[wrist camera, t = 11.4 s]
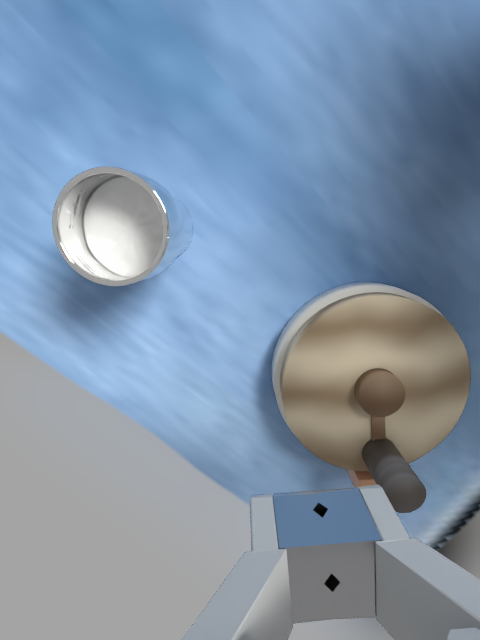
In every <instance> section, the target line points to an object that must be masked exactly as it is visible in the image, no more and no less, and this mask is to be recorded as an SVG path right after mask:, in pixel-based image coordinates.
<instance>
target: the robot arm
mask: <svg viewBox="0 0 480 640" xmlns="http://www.w3.org/2000/svg"><path fill="white" fill-rule="evenodd" d="M250 519H251V549H252V551H251V552H245V553H244V554H243V555H242V557H241V558H240V560H239V561H238V562H237V564H236V565H235V567H234V568H233V569H232V571H231V572H230V574H229V575H228V576H227V578H226V579H225V580H224V582H223V583H222V585H221V586H220V588H219V589H218V590H217V592H216V593H215V594H214V596H213V597H212V599H211V600H210V601H209V603H208V604H207V606H206V607H205V608H204V610H203V611H202V612H201V614H200V615H199V617H198V618H197V619H196V621H195V622H194V624H193V625H192V626H191V628H190V629H189V631H188V632H187V633H186V635H185V636H184V638H183V639H182V640H288V638H289V635H290V633H291V630H292V628H293V623H302V622H311V621H320V620H330V619H349V618H372V617H377V621H378V622H379V623H380V624H381V625H382V626H383V627H384V628H385V629H386V631H387V632H388V633H389V634H390V635H391V636H392V637H393V638H394V639H395V640H480V579H478V578H477V577H475V576H474V575H472V574H471V573H469V572H467V571H466V570H464V569H463V568H461V567H460V566H458V565H457V564H455V563H454V562H452V561H451V560H449V559H448V558H446V557H445V556H443V555H442V554H440V553H438V552H437V551H435V550H434V549H432V548H431V547H429V546H428V545H426V544H425V543H423V542H422V541H420V540H419V539H410V538H409V536H408V534H407V532H406V530H405V529H404V527H403V525H402V523H401V521H400V519H399V518H398V516H397V514H396V512H395V510H394V508H393V507H392V505H391V503H390V501H389V499H388V497H387V496H386V494H385V492H384V490H383V488H382V487H381V486H380V485H370V486H361V487H357V488H347V489H336V490H324V491H308V492H291V493H274V494H273V497H272V494H262V495H251V497H250Z"/></svg>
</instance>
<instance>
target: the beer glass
mask: <svg viewBox="0 0 480 640" xmlns="http://www.w3.org/2000/svg"><path fill="white" fill-rule="evenodd" d="M52 226H53V234H54V238H55V241H56V244H57V247H58V249H59V251H60V253H61V255H62V256H63V258H64V259H65V260H66V262H67V263H68V264H69V265H70V266H71V267H72V268H73V269H74V270H75V271H76V272H77V273H78V274H80V275H81V276H83V277H84V278H86V279H88V280H90V281H92V282H95V283H98V284H101V285H106V286H125V285H130V284H133V283H136V282H139V281H143V280H146V279H149V278H151V277H153V276H155V275H157V274H159V273H161V272H162V271H163V270H165V269H166V268H167V267H168V266H169V265H170V264H171V263H172V262H173V261H174V260H175V259H176V257H177V256H179V255H180V254H182V253H183V252H184V251H185V250H186V248H187V247H188V246H189V244H190V242H191V239H192V235H193V222H192V218H191V215H190V213H189V211H188V209H187V208H186V206H185V205H184V204H183V203H182V202H181V201H179V200H178V199H177V198H175V197H173V196H172V194H171V193H170V192H169V191H168V190H167V189H166V188H165V187H163V186H162V185H161V184H159V183H158V182H156V181H155V180H153V179H151V178H149V177H147V176H145V175H142V174H139V173H136V172H132V171H128V170H125V169H122V168H117V167H96V168H92V169H89V170H86V171H83V172H81V173H80V174H78V175H76V176H75V177H74V178H72V179H71V180H70V181H69V182H68V183H67V184H66V185H65V186H64V188H63V189H62V190H61V192H60V194H59V196H58V198H57V200H56V203H55V206H54V210H53V217H52Z"/></svg>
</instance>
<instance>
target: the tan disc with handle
mask: <svg viewBox="0 0 480 640" xmlns="http://www.w3.org/2000/svg"><path fill="white" fill-rule="evenodd" d="M470 380H471V374H470V363H469V358H468V354H467V351H466V348H465V346H464V343H463V341H462V340H461V338H460V336H459V334H458V333H457V331H456V330H455V329H454V327H453V326H452V325H451V324H450V323H449V322H448V321H447V320H446V319H445V318H444V317H443V316H442V315H440V314H439V313H438V312H436V311H435V310H433V309H431V308H430V307H428V306H426V305H424V304H422V303H419V302H417V301H415V300H412V299H409V298H407V297H404V296H401V295H396V294H392V293H382V292H371V293H361V294H356V295H352V296H348V297H345V298H342V299H340V300H337V301H335V302H333V303H331V304H329V305H327V306H326V307H324V308H322V309H321V310H319V311H318V312H317V313H315V314H314V315H313V316H312V317H311V318H309V319H308V320H307V321H306V322H305V323H304V325H303V326H302V327H301V328H300V329H299V330H298V332H297V333H296V334H295V336H294V337H293V339H292V341H291V343H290V344H289V346H288V348H287V351H286V353H285V356H284V359H283V363H282V367H281V373H280V393H281V399H282V403H283V407H284V411H285V414H286V417H287V420H288V422H289V424H290V426H291V428H292V431H293V432H294V434H295V435H296V436H297V438H298V439H299V441H300V442H301V443H302V444H303V445H304V446H305V447H306V448H307V449H308V450H309V451H310V452H312V453H313V454H314V455H315V456H317V457H319V458H320V459H322V460H323V461H325V462H328V463H330V464H332V465H334V466H337V467H341V468H344V469H348V470H354V471H366V472H370V473H371V475H372V477H373V479H374V480H375V482H376V484H377V485H380V486H381V487H382V488H383V490H384V492H385V494H386V496H387V497H388V499H389V501H390V503H391V505H392V507H393V508H394V510H395V511H396V512H399V513H408V512H412V511H414V510H416V509H418V508H419V507H420V506H421V505H422V504H423V502H424V501H425V498H426V489H425V487H424V485H423V484H422V482H421V481H420V480H419V478H418V477H417V476H416V474H415V473H414V471H413V470H412V469H411V467H410V466H409V464H408V463H410V462H413V461H415V460H417V459H418V458H420V457H422V456H424V455H425V454H427V453H428V452H430V451H431V450H432V449H434V448H435V447H436V446H437V445H438V444H439V443H441V442H442V441H443V440H444V439H445V437H446V436H447V435H448V434H449V433H450V432H451V430H452V429H453V428H454V426H455V425H456V423H457V422H458V420H459V418H460V416H461V414H462V412H463V410H464V407H465V405H466V402H467V399H468V394H469V390H470Z"/></svg>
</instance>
